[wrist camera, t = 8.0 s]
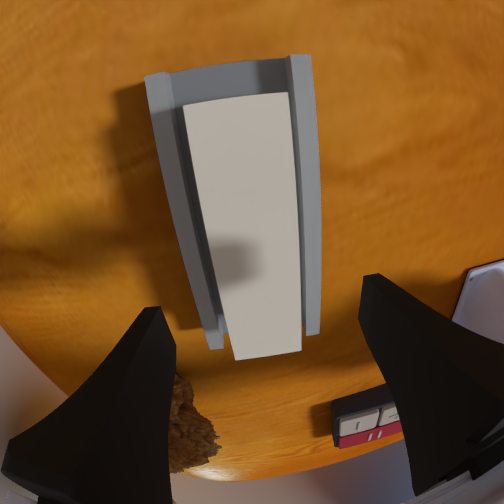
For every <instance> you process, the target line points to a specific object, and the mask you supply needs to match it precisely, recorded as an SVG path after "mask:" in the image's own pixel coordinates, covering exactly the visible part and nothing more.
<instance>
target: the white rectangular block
mask: <svg viewBox="0 0 504 504" xmlns="http://www.w3.org/2000/svg"><path fill="white" fill-rule="evenodd" d="M183 110H184V116H185V122H186V128H187V134H188V140H189V146H190V151H191V157H192V162H193V168H194V173H195V179H196V184H197V189H198V195H199V200H200V205H201V210H202V215H203V220H204V225H205V230H206V235H207V239H208V244H209V249H210V254H211V258H212V263H213V267H214V272H215V276H216V281H217V285H218V290H219V294H220V298H221V303H222V307H223V311H224V316H225V320H226V324H227V328H228V332H229V336H230V340H231V344H232V348H233V352H234V356H235V360H243V359H251V358H258V357H265V356H272V355H278V354H284V353H291V352H296V351H301V283H300V253H299V230H298V211H297V195H296V179H295V165H294V153H293V140H292V129H291V118H290V108H289V98H288V92H280V93H266V94H255V95H246V96H238V97H230V98H223V99H217V100H210V101H204V102H198V103H193V104H188V105H184V106H183Z"/></svg>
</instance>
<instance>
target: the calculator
mask: <svg viewBox="0 0 504 504" xmlns="http://www.w3.org/2000/svg"><path fill="white" fill-rule="evenodd" d="M401 431H403V430H402V427H401V423H400V419H399V416H398V413H397V409H396V406H395V403H394V400H393V397H392V394H391V392H390V390H389V387H388V385H387V383H386V384H383V385H380V386H377V387H374V388H371V389H368V390H365V391H362V392H358V393H355V394H352V395H349V396H345V397H342V398H338V399H335V400H333V401H332V436H333V441H334V446H335V447H339V449H343V448H347V447H351V446H355V445H359V444H362V443H366V442H370V441H373V440H377V439H380V438H383V437H386V436H389V435H392V434H395V433H398V432H401Z"/></svg>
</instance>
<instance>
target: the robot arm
mask: <svg viewBox="0 0 504 504" xmlns="http://www.w3.org/2000/svg"><path fill="white" fill-rule="evenodd" d="M358 320H359V322H360V325H361V328H362V331H363V334H364V337H365V340H366V342H367V344H368V346H369V348H370V350H371V352H372V354H373V356H374V358H375V360H376V362H377V365H378V367H379V369H380V371H381V373H382V375H383V377H384V379H385V381H386V383H387V385H388V387H389V390H390V392H391V394H392V397H393V400H394V403H395V406H396V409H397V413H398V416H399V419H400V423H401V427H402V430H403V434H404V438H405V442H406V447H407V452H408V457H409V463H410V470H411V477H412V487H413V491H414V494H415V496H416V497H415V498H413V499H411V500H408V501H406V502H403V503H401V504H504V260H502V261H498V262H495V263H492V264H488V265H485V266H481V267H477V268H474V269H471V270H470V271H469V272H468V274H467V277H466V280H465V284H464V287H463V290H462V293H461V296H460V298H459V301H458V304H457V307H456V310H455V312H454V315H453V317H452V320H450V319H448V318H446V317H445V316H443V315H441V314H440V313H438V312H436V311H435V310H433V309H432V308H430V307H428V306H427V305H425V304H424V303H422V302H421V301H419V300H418V299H416V298H415V297H413V296H412V295H411V294H409V293H408V292H406V291H405V290H403V289H402V288H400V287H399V286H397V285H396V284H395V283H393V282H392V281H390V280H389V279H387V278H386V277H384V276H382V275H381V274H379V273H377V274H371V275H366V276H363V285H362V293H361V301H360V308H359V315H358ZM175 373H176V344H175V341H174V339H173V336H172V334H171V332H170V329H169V327H168V324H167V322H166V319H165V317H164V314H163V312H162V309H161V307H160V306H155V307H146V308H144V309H143V310H142V311H141V313H140V314H139V315H138V317H137V318H136V319H135V321H134V322H133V323H132V325H131V326H130V327H129V329H128V330H127V331H126V333H125V334H124V335H123V337H122V338H121V339H120V341H119V342H118V343H117V345H116V346H115V347H114V349H113V350H112V351H111V352H110V354H109V355H108V356H107V357H106V358H105V360H104V361H103V362H102V363H101V365H100V366H99V367H98V368H97V369H96V371H95V372H94V373H93V374H92V375H91V376H90V377H89V378H88V379H87V380H86V381H85V382H84V383H83V385H82V386H81V387H80V388H79V389H78V390H77V391H76V392H75V393H73V394H72V395H71V396H70V397H69V398H68V399H67V400H66V401H65V402H63V403H62V404H61V405H60V406H59V407H58V408H57V409H55V410H54V411H53V412H52V413H50V414H49V415H48V416H46V417H45V418H44V419H42V420H41V421H39V422H38V423H37V424H35V425H34V426H32V427H31V428H29V429H28V430H26V431H24V432H22V433H21V434H19V435H17V436H16V437H14V438H13V439H10V440H9V443H8V446H7V449H6V453H5V457H4V460H3V464H2V468H1V472H2V474H3V475H4V476H6V477H7V478H8V479H10V480H12V481H13V482H15V483H16V484H18V485H20V486H22V487H23V488H25V489H27V490H28V491H31V492H32V493H34V494H36V495H38V496H39V497H38V502H36V501H34V500H32V499H30V498H28V497H26V496H23V495H21V494H19V493H17V492H15V491H13V490H11V489H9V490H8V494H7V498H6V504H173V500H172V493H171V483H170V472H169V452H168V429H169V418H170V410H171V402H172V395H173V388H174V381H175ZM446 482H447V483H446ZM444 483H445V484H444ZM442 484H443V485H442ZM440 485H441V486H440ZM438 486H439V487H438ZM436 487H437V488H436ZM434 488H435V489H434ZM432 489H433V490H432ZM430 490H431V491H430ZM428 491H429V492H428ZM421 494H422V495H421ZM419 495H420V496H419ZM417 496H418V497H417Z"/></svg>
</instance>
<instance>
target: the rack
mask: <svg viewBox="0 0 504 504" xmlns="http://www.w3.org/2000/svg"><path fill="white" fill-rule="evenodd" d="M144 79H145V85H146V92H147V98H148V104H149V110H150V115H151V121H152V126H153V132H154V137H155V142H156V147H157V152H158V157H159V162H160V166H161V171H162V176H163V180H164V185H165V189H166V194H167V198H168V202H169V206H170V211H171V215H172V219H173V223H174V227H175V231H176V235H177V239H178V242H179V246H180V250H181V254H182V258H183V261H184V265H185V269H186V272H187V276H188V279H189V283H190V286H191V290H192V293H193V297H194V300H195V303H196V307H197V310H198V313H199V317H200V320H201V323H202V326H203V329H204V332H205V336H206V339H207V342H208V345H209V348H210V350H213V349H222V348H224V340H223V334H226V333H229V332H228V328H227V324H226V320H225V316H224V311H223V307H222V303H221V298H220V294H219V290H218V285H217V281H216V276H215V272H214V267H213V263H212V258H211V254H210V249H209V244H208V239H207V235H206V230H205V225H204V220H203V215H202V210H201V205H200V200H199V195H198V189H197V184H196V179H195V173H194V168H193V162H192V157H191V151H190V146H189V140H188V134H187V128H186V122H185V116H184V110H183V106H184V105H188V104H193V103H198V102H204V101H210V100H217V99H223V98H230V97H238V96H246V95H255V94H266V93H280V92H288V98H289V108H290V118H291V129H292V140H293V153H294V165H295V179H296V195H297V211H298V230H299V253H300V283H301V322H302V324H303V328H304V331H305V334H306V336H310V335H315V334H319V331H320V307H321V253H322V242H321V188H320V164H319V146H318V130H317V117H316V104H315V93H314V83H313V73H312V64H311V56H310V54H297V55H289V56H287V57H286V58H279V59H264V60H253V61H243V62H234V63H227V64H219V65H213V66H206V67H201V68H195V69H190V70H184V71H180V72H175V73H170V74H169V73H167V72H160V73H156V74H152V75H148V76H144Z"/></svg>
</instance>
